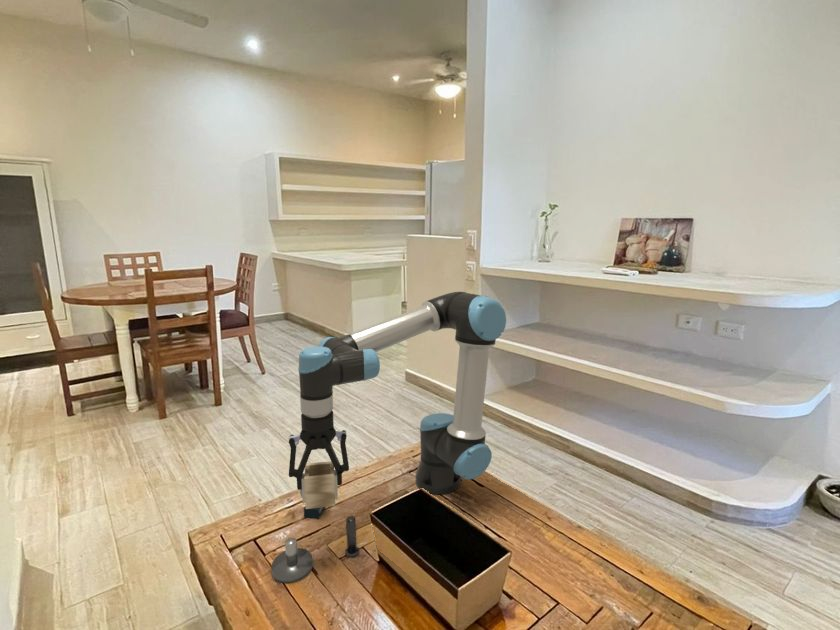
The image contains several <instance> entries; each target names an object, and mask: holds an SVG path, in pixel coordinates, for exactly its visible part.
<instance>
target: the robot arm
mask: <svg viewBox="0 0 840 630" xmlns="http://www.w3.org/2000/svg"><path fill="white" fill-rule="evenodd" d="M506 325H507V314H506V311H505V309H504V307H503V305H502V304H501V303H500V302H499V301H498V300H496V299H495V298H491V297H490V296H486V295H481V294H480V295H479V294H475V293H470V292H466V291H452V292H448V293H445V294H443V295H439V296H436V297H433V298H431V299H429V300H426V301H424V302H422V303H421V306H419V307H417V308H414V309H411V310H409V311H407V312H404V313H401V314H399V315H396V316H394V317H391V318H388V319H386V320H382V321H380V322H378V323H375V324H372V325H370V326H368V327H365V328H362V329H359V330H357V331H354V332H352V333H349V334H346V335H343V336H340V337H333V336H328V337H326V338H324V339H322V340H321V341H320V342H319V343H318V346H310V347H305V348H304V349H302V350H301V351H300V352H299V355H298V375H299V377H298V379H299V390H300V391H299V392H300V393H299V394H300V396H299V400H300V412H301V415H300V423H301V431H300V433H299V434H296V435H294V434H290V435H289V438H288V444H289V447H290V453H289V454H290V455H289V467H288V477H289V478H295V479H296V488H297V490H298V491H300V490H302V497H301V499H302V504H305V483H304V476H305V466H306V464H308V461H309V457H310V455H311V454H312V451H316V450H325V451H326V453H327V454H328V457H329V459H330V461H331V462H332V464H333V466H334V479H335V501H336V500H339V499H338V498H339V497H338V496H339V493H338V492H339V490H338V486H342V484H343V473H344V472H349V470H350V466H349V458H348V452H347V451H348V450H347V445H346V442H347V431H346V430H341V431H339V430H336V428H335V425H334V410H333V409H334V399H333V398H334V393H333V392H334V391H333V387H334V386H339V385H344V384H351V383H357V382H361V381H363V382H365V381H367V380H371V379H374V378H377V377H378V375H379V373H380V371H381V370H380V369H381V367H380V366H381V363H380V358H379V356H378V353H377V352H379V351H382V350H384V349H387V348H389V347H392V346H394V345H397V344H400V343H402V342H404V341H406V340H410V339H411V338H414V337H416V336H419V335H421V334H424V333H426V332H428V331H432V332H438V331H440V330H443V329H444V330H445V329H451V330H452V329H453V330H455V337H454V340H455V341H454V342H456V343H457V345H459V348H458V349H459V351H458V362H457V372H456V385H455V392H454V393H455V394H454V404H453V414H450V413H444V412H440V413H439V412H438V413H432V414H428V415H426V416H424V417H423V418H422V420H420V428H419V432H420V433H419V434H420V439H419V440H420V460H419V463H418V467H417V468H416V469H417V470H416V472H415V484H416V486H417V487H418V488H419V489H420V488H424V489H425V490H427V491H429V492H430V493H429V494H431V493H432V495H445V494H449V493H452V492H455V491H456V490H457V489H458V488H460V485H461V483H462V482H461V481H462V478H463V479H465V480H474V479H477V478H478V477H480V476H482V475H483V473H484V472H485V471H487V469H488V468H489V466H490V465H491V461H492V456H493V455H492V454H493V453H492V450H491V448H490V447H489V445H487V444H486V436H487V435H486V434H487V432H486V430H485V429H484V428H483V426H482V423H483V414H484V404H485V393H486V385H487V376H488V375H487V373H488V366H489V354H490V349H492V347H494V346H495V345H496V340H498V338H500V337H501V336H502V333H504V331H505V329H506ZM335 437H336V438H337V441H338V442H339V443H340V452H341V453H340V454H341V457H342V458H341V459H342V464H341V462H340V460H339V458H338V456H337V454H336V451H335V450H334V448H333V445H332V441H333V440H334V439H335ZM300 441H302V442H303V444H304V445H305V448H304V450H303V454H302V456H301V459H300V462H299V465H298V467H297V469H296V468H295V466H296V457H297V446H298V445H299V444H300V443H299V442H300Z"/></svg>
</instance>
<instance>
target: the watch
mask: <svg viewBox="0 0 840 630" xmlns="http://www.w3.org/2000/svg"><path fill="white" fill-rule="evenodd" d="M299 493H300V494H299V495H300V496H301V498H302V490H299ZM325 508H326V507H320V508H312V509H306V506H304V508H303V514H304V515H303V516H304V519H315V520H319V519H320V517H321V516H322V514H323V512H324V510H325Z"/></svg>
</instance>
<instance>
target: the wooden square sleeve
mask: <svg viewBox="0 0 840 630" xmlns="http://www.w3.org/2000/svg"><path fill="white" fill-rule="evenodd" d="M334 470H335V468H334V466H333V464H332V462H331V460H329V461H318V462H311V463H308V462H307V463H306V466H305V469H304V473H305V476H304V483H305V503H304V504H305V506H306V509H312V508H320V507H325V508H326V507H335V506H336V500H335V479H334ZM305 506H304V507H305Z"/></svg>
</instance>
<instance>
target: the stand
mask: <svg viewBox="0 0 840 630" xmlns="http://www.w3.org/2000/svg"><path fill="white" fill-rule="evenodd" d="M345 522H346V523H345V524H346V525H345V526H346V527H345V528H346V542H347V543H346V544H347V545H346V546H347V547H346V548H345V551H344V552H345V556H346V557H347V558H350V559H353V558H356V557H358V556H359V554H360V548H359V547H358V544H357V527H356V526H357V525H356V516H354V515H349V516H347V517H346V518H345Z"/></svg>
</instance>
